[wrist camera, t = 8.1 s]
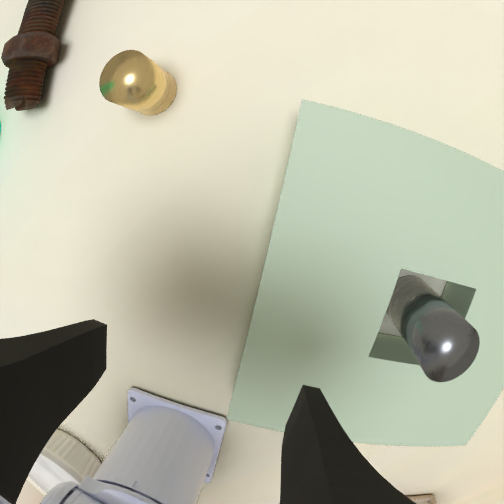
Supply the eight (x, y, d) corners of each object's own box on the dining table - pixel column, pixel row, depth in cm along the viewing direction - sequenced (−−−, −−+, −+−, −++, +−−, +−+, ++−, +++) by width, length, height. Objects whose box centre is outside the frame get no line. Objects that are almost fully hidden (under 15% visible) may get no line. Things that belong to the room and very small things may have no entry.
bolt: (46, 113, 20) (83, -33, 16) (64, 104, 18) (109, -58, 14) (-16, 113, 16) (30, -42, 12) (-11, 103, 13) (49, -72, 9)
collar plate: (451, 418, 20) (465, 445, 16) (236, 387, 21) (226, 419, 18) (538, 203, 15) (568, 209, 12) (300, 114, 17) (302, 99, 13)
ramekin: (110, 446, 25) (86, 481, 20) (120, 496, 28) (104, 525, 23) (28, 404, 26) (2, 428, 21) (48, 460, 29) (29, 483, 24)
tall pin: (417, 324, 18) (461, 384, 12) (377, 315, 19) (411, 379, 12) (433, 281, 18) (489, 328, 11) (393, 270, 18) (439, 318, 11)
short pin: (170, 117, 18) (140, 104, 14) (128, 113, 18) (93, 102, 14) (181, 72, 17) (155, 49, 13) (139, 70, 17) (107, 51, 13)
